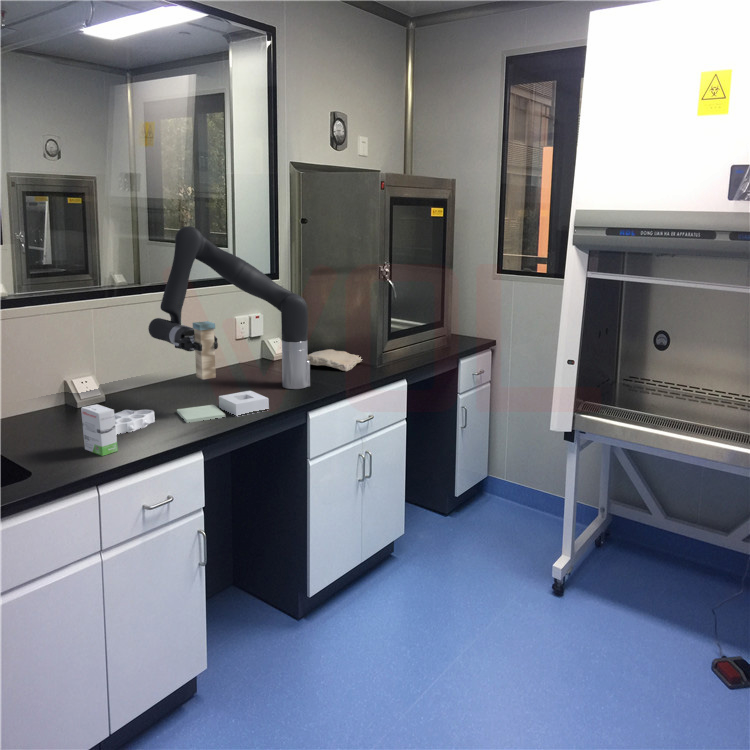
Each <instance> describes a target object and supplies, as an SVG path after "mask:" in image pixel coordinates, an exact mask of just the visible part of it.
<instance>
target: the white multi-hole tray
mask: <svg viewBox="0 0 750 750" xmlns="http://www.w3.org/2000/svg"><path fill="white" fill-rule="evenodd" d="M114 416H115V426H116V436H118V435H121V434H125V433H126V432H128V433H132V431H133V432H135V431H137V430H141V429H144V428H146V427H148V425H151V424H152V423H153V424H154V423H155V422H156V420H155V419H156V418H155V411H154V410H153V409H139V410H133V409H131V410H130V409H124V410H122V411H118V412H114ZM140 428H141V429H140ZM120 433H121V434H120ZM117 434H118V435H117ZM126 434H127V433H126Z"/></svg>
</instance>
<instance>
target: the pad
mask: <svg viewBox="0 0 750 750" xmlns="http://www.w3.org/2000/svg"><path fill="white" fill-rule="evenodd" d="M176 413H177V414H178V415H179V416H180V417H181V419H182V418H183V419H184V420H183V421H184V422H185V423H186V424H190V423H196V422H202V421H203V420H204V421H209V420H210V419H211V420H216V419H215V418H218V419H223V418H222V417H225V418H226V413H225V412H223V411H222V409H220V408H219V407H218V406H216V405H215V404H208V405H201V406H200V405H199V406H192V407H185V408H178V409H176ZM211 420H210V421H211ZM189 422H190V423H189Z"/></svg>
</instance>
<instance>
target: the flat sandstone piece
mask: <svg viewBox="0 0 750 750" xmlns="http://www.w3.org/2000/svg"><path fill="white" fill-rule="evenodd" d="M359 356H360V355H358V354H351V353H349V352H347V351H344V350H335V349H332V348H331V349H330V348H329V349H324V350H319V351H317V350H316V351H314V352H312V353H309V354H308V360H309V361H310V366H311V365H312V366H326V367H331V368H334V369H337V370H340V371H343V372H348V371H350V370H352V369H353V368H354V367H356V365H357V364H359V363H361V362H363V361H362V360H363V358H362V356H360V357H359ZM361 358H362V359H361Z"/></svg>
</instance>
